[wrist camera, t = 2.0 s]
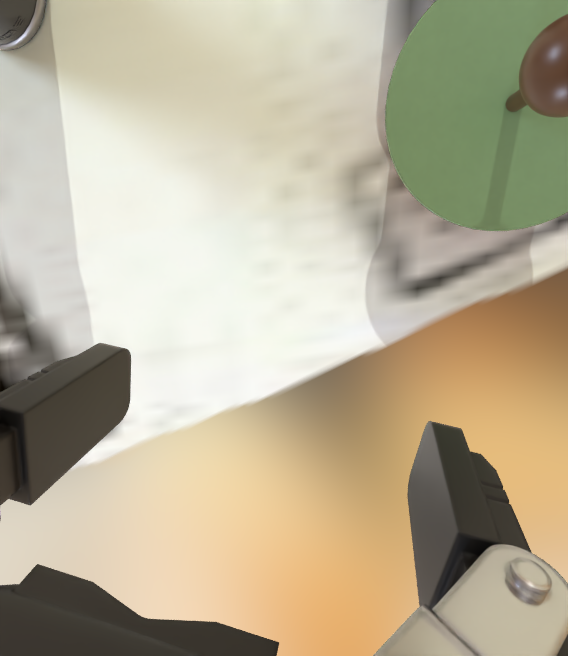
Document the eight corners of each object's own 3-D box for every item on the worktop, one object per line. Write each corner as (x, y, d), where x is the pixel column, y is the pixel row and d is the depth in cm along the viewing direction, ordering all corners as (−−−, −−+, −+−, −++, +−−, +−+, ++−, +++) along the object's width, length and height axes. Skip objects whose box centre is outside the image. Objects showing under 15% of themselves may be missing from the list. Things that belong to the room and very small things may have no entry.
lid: (354, 39, 24) (344, -58, 15) (623, -97, 21) (833, -341, 11) (420, 260, 27) (446, 293, 18) (666, 178, 24) (860, 167, 14)
